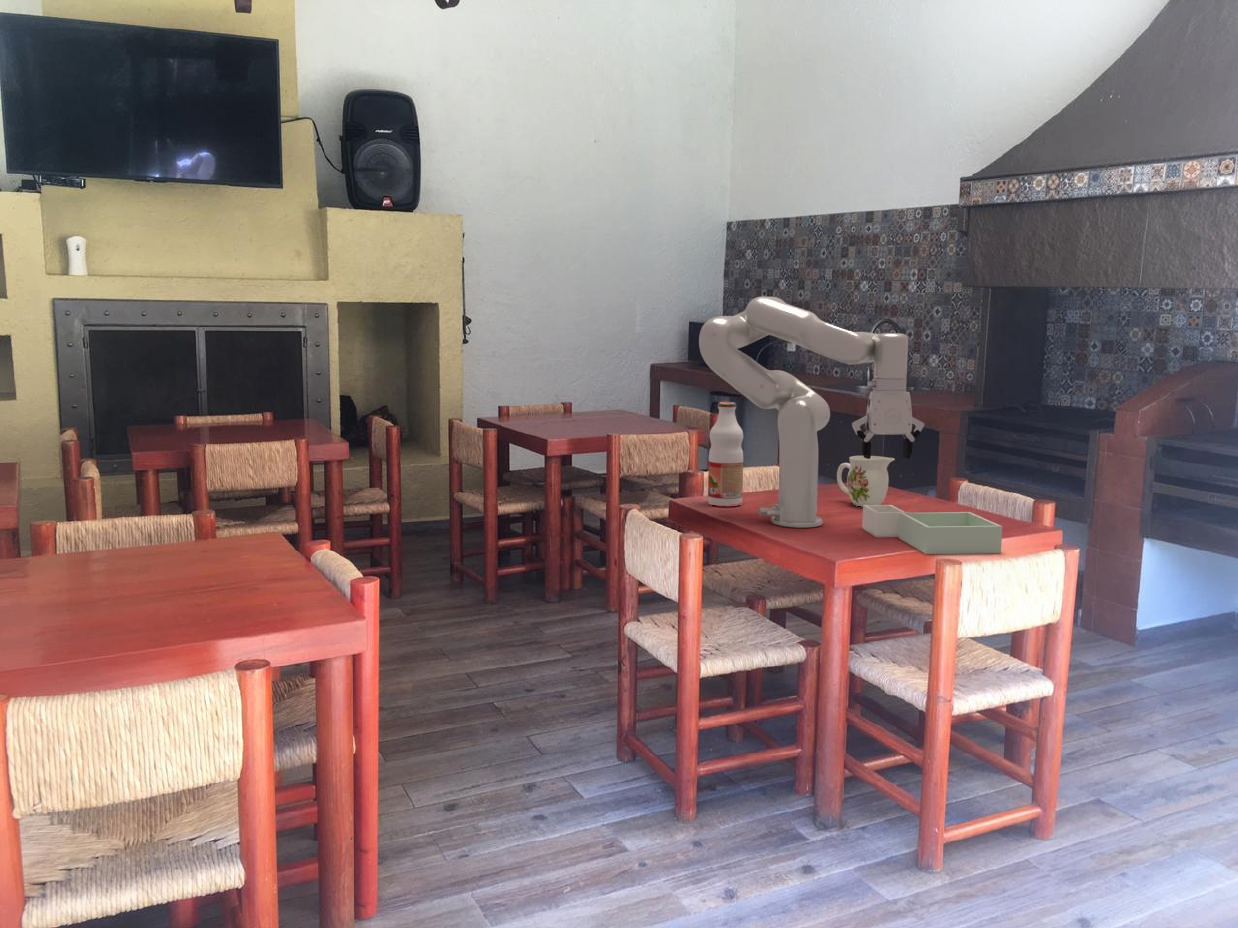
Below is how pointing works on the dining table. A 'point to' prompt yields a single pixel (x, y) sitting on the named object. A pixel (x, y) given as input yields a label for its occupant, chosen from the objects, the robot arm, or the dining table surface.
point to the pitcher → (865, 479)
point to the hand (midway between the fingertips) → (886, 457)
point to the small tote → (881, 520)
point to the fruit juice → (725, 458)
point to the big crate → (950, 533)
